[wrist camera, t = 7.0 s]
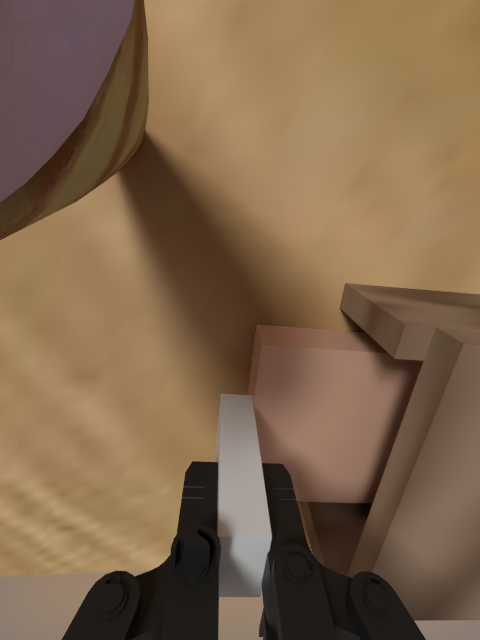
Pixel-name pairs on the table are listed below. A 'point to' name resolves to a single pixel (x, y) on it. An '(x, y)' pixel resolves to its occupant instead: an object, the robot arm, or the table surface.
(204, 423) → the table surface
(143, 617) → the robot arm
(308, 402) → the pinkish brown block
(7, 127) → the ice cream cone
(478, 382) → the brown channel bracket
